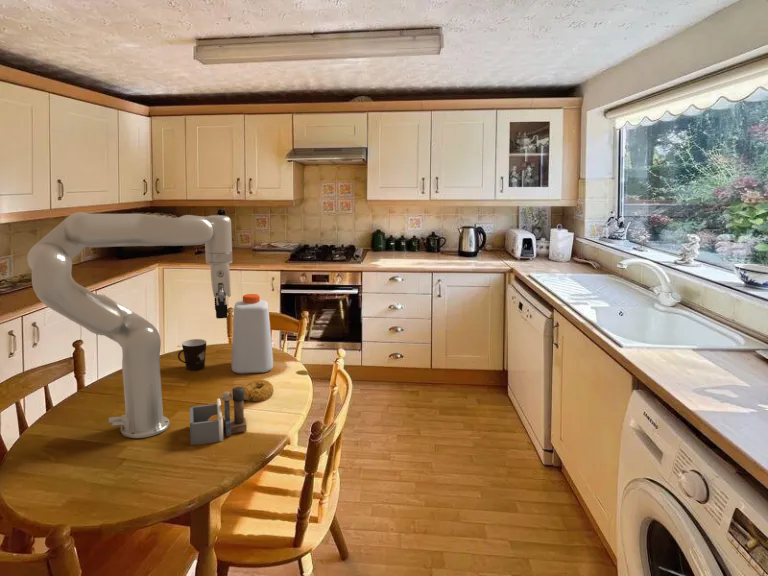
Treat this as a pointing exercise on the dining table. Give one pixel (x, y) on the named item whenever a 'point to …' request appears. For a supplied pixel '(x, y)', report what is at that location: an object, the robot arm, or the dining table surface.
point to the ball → (214, 417)
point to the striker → (239, 421)
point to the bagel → (258, 390)
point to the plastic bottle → (251, 336)
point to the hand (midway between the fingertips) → (221, 313)
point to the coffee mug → (194, 354)
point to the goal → (206, 424)
